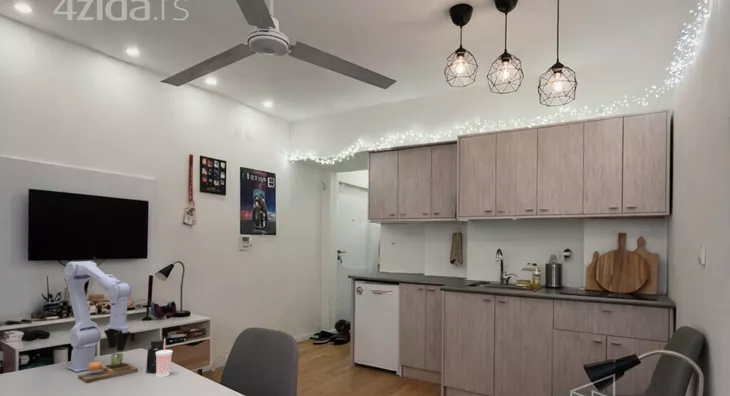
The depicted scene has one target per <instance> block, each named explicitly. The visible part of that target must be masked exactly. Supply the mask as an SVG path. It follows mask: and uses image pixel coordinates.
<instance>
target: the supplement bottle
mask: <svg viewBox="0 0 730 396" xmlns="http://www.w3.org/2000/svg"><path fill="white" fill-rule="evenodd" d="M160 350H164V339H162V338H158V339H152V340H151V341H150V347H149V348H148V349H147V354H146V365H145V366H146V367H145V368H146V369H145V371H146V373H148V374H156V352H157V351H160ZM165 350H167V347H165Z"/></svg>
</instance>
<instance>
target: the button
mask: <svg viewBox="0 0 730 396" xmlns="http://www.w3.org/2000/svg"><path fill="white" fill-rule="evenodd" d="M102 366H103V361H100V360H98V361H97V360H96V361H95V360H94V362H90V363H89V364H88V370H87V371H89V372H95V371H99V370H101V369H102Z"/></svg>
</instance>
